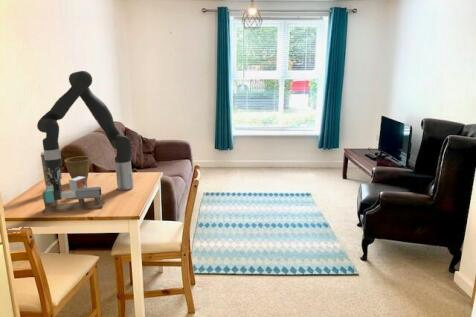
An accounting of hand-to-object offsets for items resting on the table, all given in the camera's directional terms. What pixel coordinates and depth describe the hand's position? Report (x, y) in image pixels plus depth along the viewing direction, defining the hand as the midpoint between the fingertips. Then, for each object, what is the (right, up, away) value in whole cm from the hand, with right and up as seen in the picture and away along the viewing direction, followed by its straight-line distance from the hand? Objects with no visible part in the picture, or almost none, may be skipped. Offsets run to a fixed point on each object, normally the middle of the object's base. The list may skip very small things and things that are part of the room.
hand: (57, 189), depth 185 cm
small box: (+2, -6, +23) cm, 23 cm away
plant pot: (-9, 0, +47) cm, 48 cm away
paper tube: (-17, -5, +27) cm, 32 cm away
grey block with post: (+5, -5, +2) cm, 7 cm away
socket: (-4, -6, +1) cm, 7 cm away
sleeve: (+15, -4, +4) cm, 16 cm away
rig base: (+8, -10, +4) cm, 13 cm away
